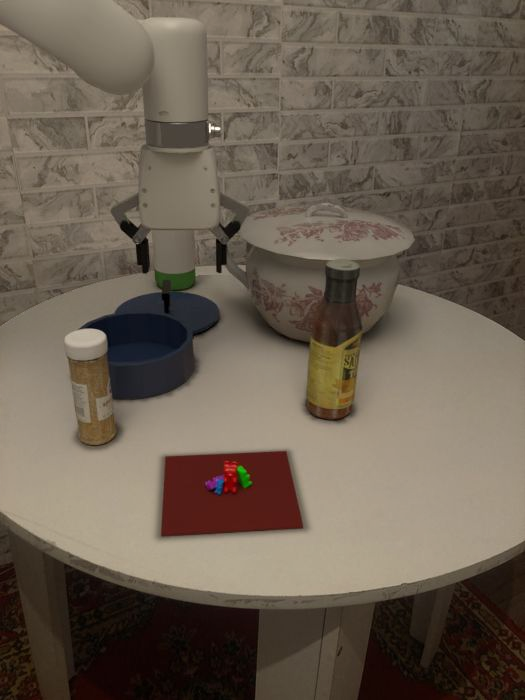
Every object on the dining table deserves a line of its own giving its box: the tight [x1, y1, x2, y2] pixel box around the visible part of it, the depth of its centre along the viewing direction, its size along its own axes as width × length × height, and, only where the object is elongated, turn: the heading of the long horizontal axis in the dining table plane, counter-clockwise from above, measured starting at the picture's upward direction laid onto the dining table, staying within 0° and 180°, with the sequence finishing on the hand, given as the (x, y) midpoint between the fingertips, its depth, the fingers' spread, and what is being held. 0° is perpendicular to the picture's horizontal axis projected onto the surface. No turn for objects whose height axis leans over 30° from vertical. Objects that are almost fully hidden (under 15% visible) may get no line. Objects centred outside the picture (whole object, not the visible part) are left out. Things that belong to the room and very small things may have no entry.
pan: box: [77, 311, 195, 400], centre depth 85 cm, size 17×17×5 cm
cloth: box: [160, 450, 304, 537], centre depth 64 cm, size 14×12×1 cm
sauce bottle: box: [305, 259, 363, 420], centre depth 74 cm, size 6×6×20 cm
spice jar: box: [63, 329, 118, 446], centre depth 69 cm, size 5×5×14 cm
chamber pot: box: [223, 202, 416, 343], centre depth 96 cm, size 28×28×21 cm
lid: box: [114, 280, 220, 335], centre depth 100 cm, size 18×18×6 cm
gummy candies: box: [205, 461, 252, 495], centre depth 63 cm, size 5×3×4 cm, turn 88°
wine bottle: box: [151, 230, 196, 291], centre depth 108 cm, size 8×8×30 cm
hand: (182, 269), depth 79 cm, fingers open, 9 cm apart
